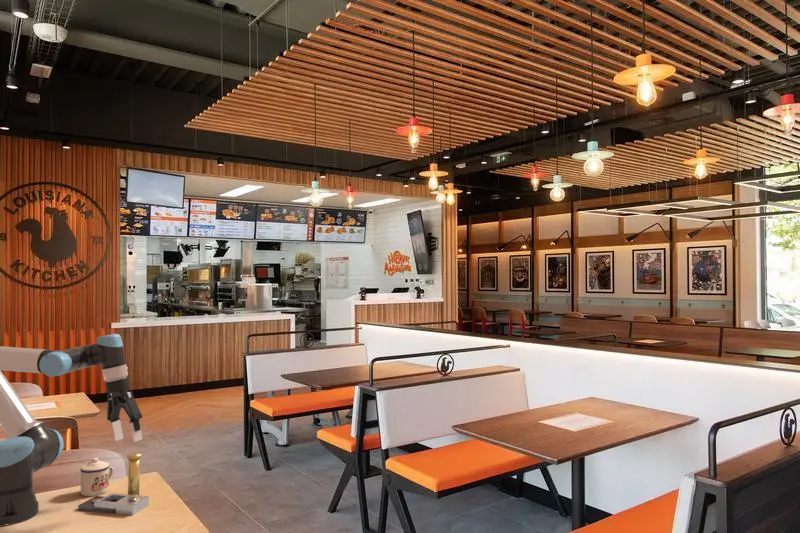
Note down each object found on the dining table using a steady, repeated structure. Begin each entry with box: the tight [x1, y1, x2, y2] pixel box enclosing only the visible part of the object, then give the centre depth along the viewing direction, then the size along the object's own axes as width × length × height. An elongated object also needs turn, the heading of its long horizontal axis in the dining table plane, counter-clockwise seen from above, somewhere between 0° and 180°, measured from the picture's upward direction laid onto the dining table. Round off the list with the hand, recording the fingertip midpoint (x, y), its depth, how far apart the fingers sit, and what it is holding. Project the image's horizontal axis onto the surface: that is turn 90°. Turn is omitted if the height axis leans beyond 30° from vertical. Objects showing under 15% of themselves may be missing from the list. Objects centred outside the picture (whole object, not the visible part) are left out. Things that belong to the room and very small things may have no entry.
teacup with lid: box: [80, 457, 114, 497], centre depth 199 cm, size 12×9×12 cm
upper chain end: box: [94, 492, 150, 516], centre depth 183 cm, size 14×8×4 cm, turn 78°
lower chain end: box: [77, 495, 118, 514], centre depth 184 cm, size 14×8×2 cm, turn 78°
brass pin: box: [126, 451, 143, 495], centre depth 195 cm, size 5×5×14 cm
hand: (128, 440), depth 191 cm, fingers open, 13 cm apart
